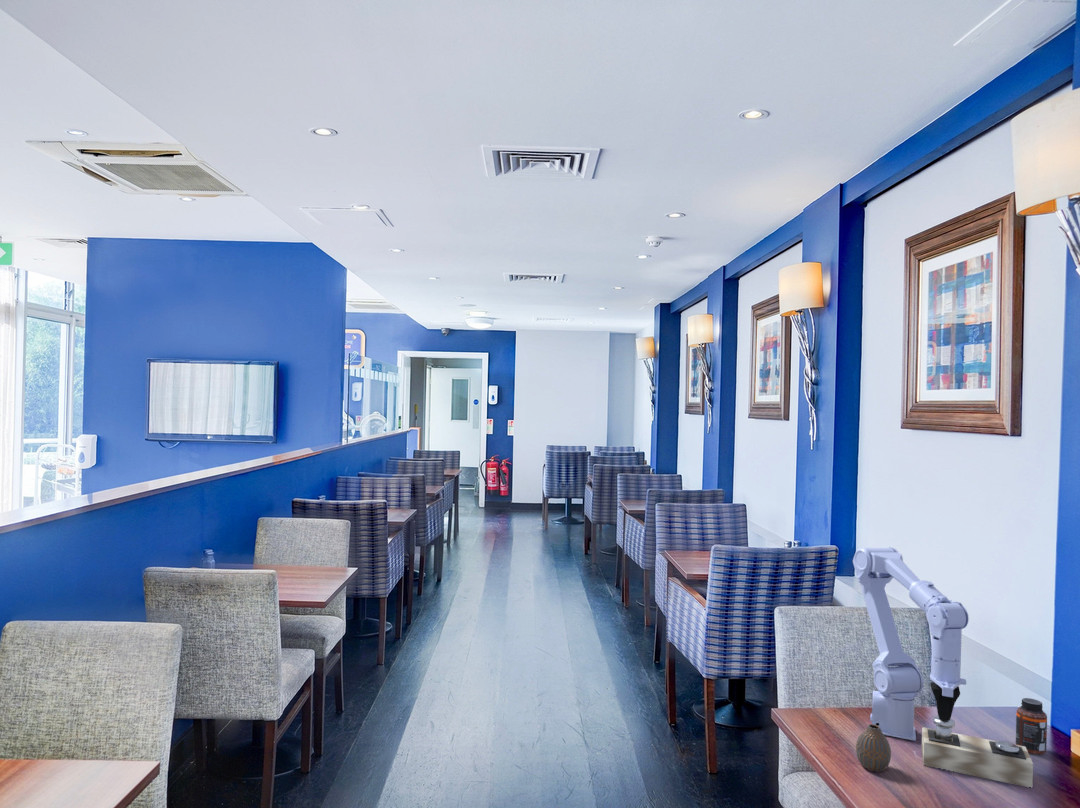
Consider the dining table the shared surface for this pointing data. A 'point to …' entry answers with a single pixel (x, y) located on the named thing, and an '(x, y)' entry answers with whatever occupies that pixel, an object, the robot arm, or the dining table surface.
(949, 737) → the dowel left
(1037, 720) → the supplement bottle
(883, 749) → the vase
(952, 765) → the birch bar
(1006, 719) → the dining table surface
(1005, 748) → the dowel right
